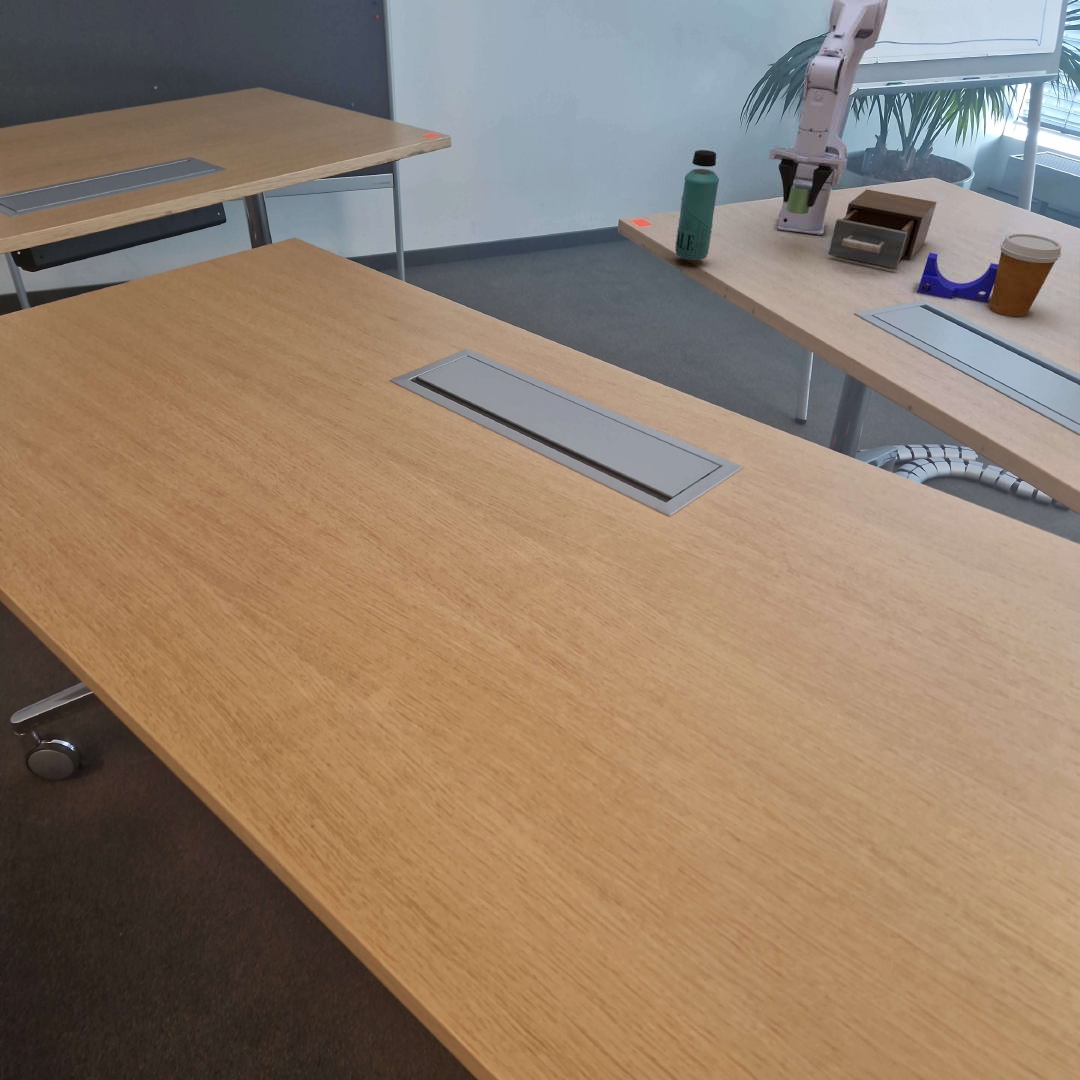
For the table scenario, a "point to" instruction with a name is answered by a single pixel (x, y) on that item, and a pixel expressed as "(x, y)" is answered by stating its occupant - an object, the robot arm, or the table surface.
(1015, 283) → the disposable coffee cup
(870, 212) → the drawer
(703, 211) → the beverage bottle
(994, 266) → the blue cradle bracket
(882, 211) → the cabinet
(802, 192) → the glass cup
